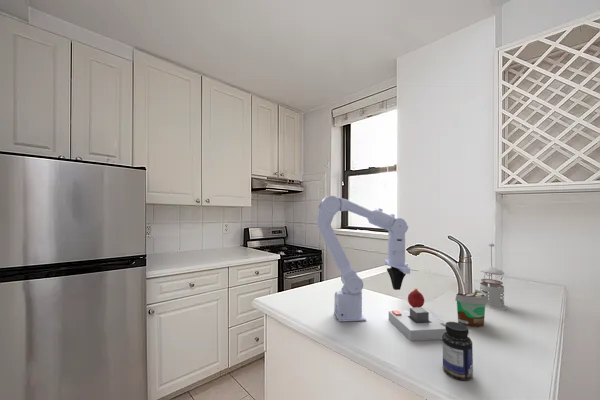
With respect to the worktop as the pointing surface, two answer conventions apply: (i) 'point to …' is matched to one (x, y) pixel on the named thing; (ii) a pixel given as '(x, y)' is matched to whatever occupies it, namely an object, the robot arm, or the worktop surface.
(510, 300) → the worktop surface
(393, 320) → the socket plate
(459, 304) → the food container
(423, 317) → the plug
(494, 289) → the french press
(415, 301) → the onion
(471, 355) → the pill bottle
